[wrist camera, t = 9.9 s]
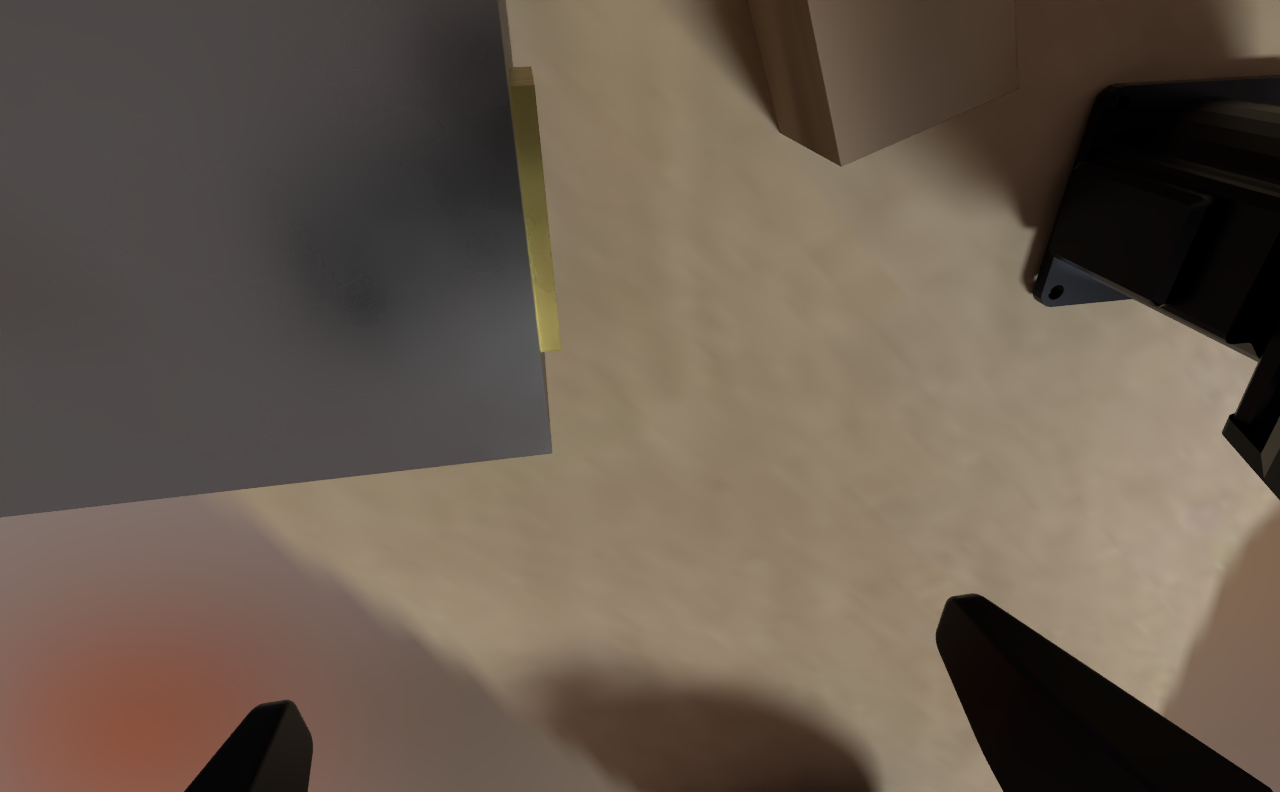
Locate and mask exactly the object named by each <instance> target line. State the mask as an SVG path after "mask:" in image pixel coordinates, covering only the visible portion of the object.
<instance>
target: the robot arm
mask: <svg viewBox="0 0 1280 792" xmlns="http://www.w3.org/2000/svg"><path fill="white" fill-rule="evenodd" d="M1117 98H1118V103H1117V105H1116V107H1115V108H1114V109H1113V110H1112V111H1111V109H1112V105H1113V103H1114V101H1115V100H1116V99H1117ZM1054 286H1055V288H1054V289H1053V291H1052V292H1051V293H1049V292H1050V290H1051V289H1052V288H1053V287H1054ZM1033 296H1034V299H1036V300H1037V301H1038V302H1040V303H1042V304H1043V305H1045V306H1048V307H1054V306H1065V305H1075V304H1085V303H1095V302H1106V301H1116V300H1126V299H1134V300H1136V301H1138V302H1140V303H1142V304H1144V305H1146V306H1148V307H1150V308H1152V309H1154V310H1156V311H1158V312H1160V313H1162V314H1164V315H1166V316H1168V317H1170V318H1172V319H1174V320H1176V321H1178V322H1180V323H1182V324H1184V325H1186V326H1188V327H1190V328H1192V329H1194V330H1196V331H1198V332H1200V333H1202V334H1204V335H1206V336H1208V337H1210V338H1211V339H1213V340H1215V341H1217V342H1219V343H1221V344H1223V345H1225V346H1227V347H1229V348H1231V349H1233V350H1235V351H1237V352H1239V353H1241V354H1243V355H1245V356H1247V357H1249V358H1251V359H1253V360H1255V361H1257V362H1258V364H1257V366H1256V368H1255V371H1254V373H1253V375H1252V377H1251V379H1250V382H1249V384H1248V386H1247V388H1246V390H1245V393H1244V395H1243V397H1242V399H1241V401H1240V404H1239V406H1238V408H1237V410H1236V412H1235V413H1234V414H1231V415H1229V418H1228V420H1227V422H1226V424H1225V426H1224V429H1223V431H1222V434H1223V436H1224V437H1225V438H1226V439H1227V440H1228V442H1229V443H1230V444H1231V445H1232V446H1233V447H1234V448H1235V450H1236V451H1237V452H1238V453H1239V454H1240V455H1241V456H1242V458H1243V459H1244V460H1245V461H1246V462H1247V463H1248V464H1249V466H1250V467H1251V468H1252V469H1253V470H1254V471H1255V472H1256V474H1257V475H1258V476H1259V477H1260V478H1261V479H1262V480H1263V482H1264V483H1265V484H1266V485H1267V486H1268V487H1269V488H1270V490H1271V491H1272V492H1273V493H1274V494H1275V495H1276V496H1277V498H1278V499H1279V500H1280V75H1272V76H1253V77H1234V78H1215V79H1196V80H1177V81H1158V82H1138V83H1119V84H1113V85H1109V86H1108V87H1106V88H1105V89H1103V90H1102V91H1101V92H1100V94H1099V95H1098V96H1097V97H1096V99H1095V101H1094V103H1093V106H1092V109H1091V112H1090V115H1089V119H1088V122H1087V125H1086V128H1085V131H1084V134H1083V137H1082V140H1081V143H1080V146H1079V150H1078V153H1077V156H1076V159H1075V162H1074V165H1073V168H1072V171H1071V174H1070V177H1069V181H1068V184H1067V187H1066V190H1065V193H1064V196H1063V199H1062V202H1061V205H1060V208H1059V212H1058V215H1057V218H1056V221H1055V224H1054V227H1053V230H1052V233H1051V236H1050V239H1049V243H1048V246H1047V249H1046V252H1045V255H1044V258H1043V261H1042V264H1041V267H1040V270H1039V274H1038V277H1037V280H1036V283H1035V286H1034V289H1033ZM936 643H937V647H938V650H939V653H940V655H941V657H942V660H943V662H944V664H945V667H946V669H947V671H948V674H949V676H950V678H951V681H952V683H953V685H954V688H955V690H956V692H957V695H958V697H959V699H960V702H961V704H962V706H963V709H964V711H965V713H966V716H967V718H968V720H969V723H970V725H971V727H972V730H973V732H974V734H975V737H976V739H977V741H978V743H979V745H980V748H981V750H982V752H983V754H984V756H985V758H986V760H987V762H988V764H989V766H990V768H991V770H992V771H993V773H994V775H995V777H996V779H997V781H998V782H999V784H1000V786H1001V788H1002V790H1003V792H1273V791H1272V790H1271V788H1269V787H1268V786H1266V785H1265V784H1263V783H1262V782H1260V781H1259V780H1257V779H1256V778H1254V777H1253V776H1252V775H1250V774H1249V773H1247V772H1245V771H1244V770H1242V769H1241V768H1240V767H1238V766H1236V765H1235V764H1234V763H1232V762H1230V761H1229V760H1228V759H1226V758H1225V757H1223V756H1221V755H1220V754H1218V753H1217V752H1216V751H1214V750H1213V749H1211V748H1209V747H1208V746H1207V745H1205V744H1203V743H1202V742H1200V741H1199V740H1198V739H1196V738H1194V737H1193V736H1191V735H1190V734H1188V733H1187V732H1185V731H1184V730H1182V729H1181V728H1179V727H1178V726H1177V725H1175V724H1174V723H1172V722H1171V721H1169V720H1167V719H1166V718H1165V717H1163V716H1162V715H1160V714H1159V713H1157V712H1156V711H1154V710H1153V709H1151V708H1150V707H1148V706H1147V705H1145V704H1144V703H1142V702H1141V701H1139V700H1138V699H1136V698H1135V697H1133V696H1132V695H1130V694H1129V693H1127V692H1126V691H1124V690H1123V689H1121V688H1120V687H1118V686H1117V685H1115V684H1114V683H1112V682H1111V681H1109V680H1108V679H1106V678H1105V677H1103V676H1102V675H1100V674H1099V673H1097V672H1096V671H1094V670H1093V669H1091V668H1090V667H1088V666H1087V665H1085V664H1084V663H1082V662H1081V661H1079V660H1078V659H1076V658H1075V657H1073V656H1072V655H1070V654H1069V653H1067V652H1066V651H1064V650H1063V649H1061V648H1060V647H1058V646H1057V645H1055V644H1054V643H1052V642H1051V641H1049V640H1048V639H1046V638H1045V637H1043V636H1042V635H1040V634H1039V633H1037V632H1036V631H1034V630H1033V629H1031V628H1030V627H1028V626H1027V625H1025V624H1024V623H1022V622H1021V621H1019V620H1018V619H1016V618H1015V617H1013V616H1012V615H1010V614H1009V613H1007V612H1006V611H1004V610H1003V609H1001V608H1000V607H998V606H997V605H995V604H994V603H992V602H991V601H989V600H988V599H986V598H985V597H983V596H981V595H978V594H965V595H958V596H952V597H950V598H949V599H948V600H947V601H946V604H945V607H944V609H943V612H942V615H941V618H940V621H939V624H938V627H937V630H936ZM312 753H313V741H312V736H311V733H310V731H309V729H308V727H307V726H306V724H305V721H304V720H303V718H302V716H301V714H300V712H299V710H298V709H297V706H296V705H295V703H294V702H292V701H290V700H282V701H275V702H269V703H263V704H260V705H258V706H256V707H255V708H254V709H252V710H251V711H250V713H249V714H248V715H247V716H246V717H245V718H244V720H243V721H242V722H241V723H240V725H239V726H238V727H237V728H236V729H235V731H234V732H233V733H232V734H231V735H230V737H229V738H228V739H227V740H226V741H225V743H224V744H223V745H222V746H221V748H220V749H219V750H218V751H217V752H216V754H215V755H214V756H213V757H212V758H211V760H210V761H209V762H208V763H207V765H206V766H205V767H204V768H203V769H202V771H201V772H200V773H199V774H198V775H197V777H196V778H195V779H194V780H193V781H192V783H191V784H190V785H189V786H188V788H187V789H186V790H185V791H184V792H308V785H309V776H310V769H311V761H312Z"/></svg>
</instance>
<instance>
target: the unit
mask: <svg viewBox="0 0 1280 792" xmlns="http://www.w3.org/2000/svg"><path fill="white" fill-rule="evenodd" d="M557 350H561V343H560V333H559V323H558V313H557V303H556V293H555V283H554V273H553V264H552V254H551V244H550V234H549V224H548V214H547V204H546V194H545V184H544V175H543V165H542V155H541V145H540V135H539V125H538V115H537V105H536V95H535V85H534V80H533V75H532V69H531V67H513V62H512V53H511V45H510V36H509V27H508V19H507V10H506V1H505V0H0V517H6V516H15V515H24V514H33V513H41V512H50V511H58V510H67V509H76V508H84V507H93V506H101V505H110V504H119V503H127V502H136V501H145V500H153V499H162V498H171V497H179V496H187V495H197V494H205V493H214V492H223V491H231V490H240V489H248V488H257V487H266V486H274V485H283V484H292V483H300V482H309V481H317V480H326V479H335V478H343V477H352V476H360V475H369V474H378V473H386V472H395V471H404V470H412V469H421V468H429V467H438V466H447V465H455V464H464V463H473V462H481V461H490V460H498V459H507V458H516V457H524V456H533V455H541V454H550V453H552V443H551V431H550V418H549V405H548V392H547V379H546V366H545V354H544V352H547V351H557Z"/></svg>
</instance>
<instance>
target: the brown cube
mask: <svg viewBox="0 0 1280 792" xmlns="http://www.w3.org/2000/svg"><path fill="white" fill-rule="evenodd" d="M747 3H748V7H749V11H750V15H751V19H752V23H753V27H754V31H755V35H756V39H757V43H758V47H759V51H760V55H761V59H762V63H763V67H764V71H765V75H766V79H767V83H768V87H769V91H770V95H771V99H772V103H773V107H774V111H775V115H776V119H777V123H778V127H779V131H780V133H781V134H783V135H785V136H787V137H788V138H790V139H792V140H794V141H796V142H798V143H799V144H801V145H803V146H805V147H807V148H808V149H810V150H812V151H814V152H816V153H817V154H819V155H821V156H823V157H825V158H827V159H828V160H830V161H832V162H834V163H836V164H837V165H839V166H841V167H842V166H844V165H846V164H848V163H851V162H853V161H855V160H857V159H860V158H862V157H864V156H867V155H869V154H871V153H873V152H876V151H878V150H880V149H882V148H885V147H887V146H889V145H892V144H894V143H896V142H898V141H901V140H903V139H905V138H907V137H910V136H912V135H914V134H917V133H919V132H921V131H923V130H926V129H928V128H930V127H932V126H935V125H937V124H939V123H942V122H944V121H946V120H948V119H951V118H953V117H955V116H957V115H960V114H962V113H964V112H967V111H969V110H971V109H973V108H976V107H978V106H980V105H982V104H985V103H987V102H989V101H992V100H994V99H996V98H998V97H1001V96H1003V95H1005V94H1007V93H1010V92H1012V91H1014V90H1017V89H1019V86H1018V63H1017V40H1016V17H1015V0H747Z"/></svg>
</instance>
